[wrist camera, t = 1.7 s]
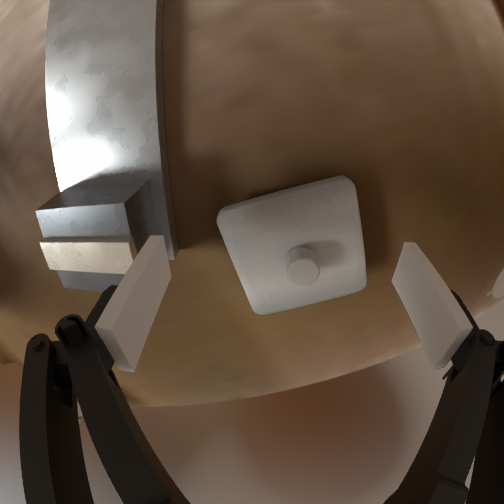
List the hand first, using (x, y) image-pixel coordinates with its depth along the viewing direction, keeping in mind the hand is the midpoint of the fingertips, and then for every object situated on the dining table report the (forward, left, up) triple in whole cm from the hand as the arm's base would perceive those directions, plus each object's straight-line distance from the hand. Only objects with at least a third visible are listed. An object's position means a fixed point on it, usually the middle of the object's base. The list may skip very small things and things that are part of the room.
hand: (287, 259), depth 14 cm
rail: (-13, +14, -8) cm, 21 cm away
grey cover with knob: (-1, +1, -8) cm, 8 cm away
